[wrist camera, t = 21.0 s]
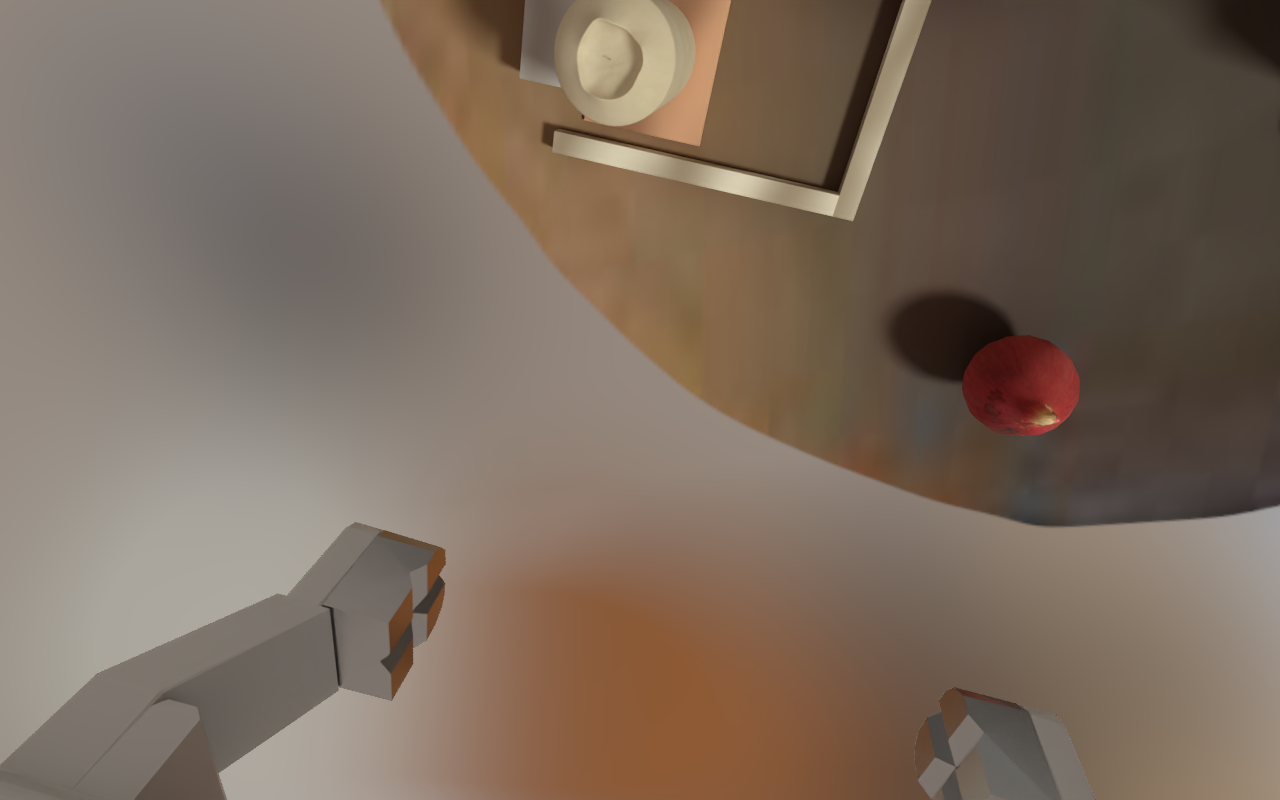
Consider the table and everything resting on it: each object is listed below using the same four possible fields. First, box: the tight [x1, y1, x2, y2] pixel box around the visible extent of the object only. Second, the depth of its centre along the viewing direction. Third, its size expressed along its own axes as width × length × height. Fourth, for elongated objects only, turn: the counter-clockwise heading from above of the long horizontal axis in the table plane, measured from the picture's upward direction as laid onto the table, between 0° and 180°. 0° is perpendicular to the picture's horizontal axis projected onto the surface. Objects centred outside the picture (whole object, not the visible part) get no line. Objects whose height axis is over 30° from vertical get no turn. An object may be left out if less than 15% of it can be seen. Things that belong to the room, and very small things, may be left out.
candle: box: [554, 0, 696, 126], centre depth 31 cm, size 6×6×10 cm
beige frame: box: [520, 0, 931, 221], centre depth 35 cm, size 20×12×2 cm, turn 79°
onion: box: [962, 335, 1080, 436], centre depth 37 cm, size 6×6×8 cm
